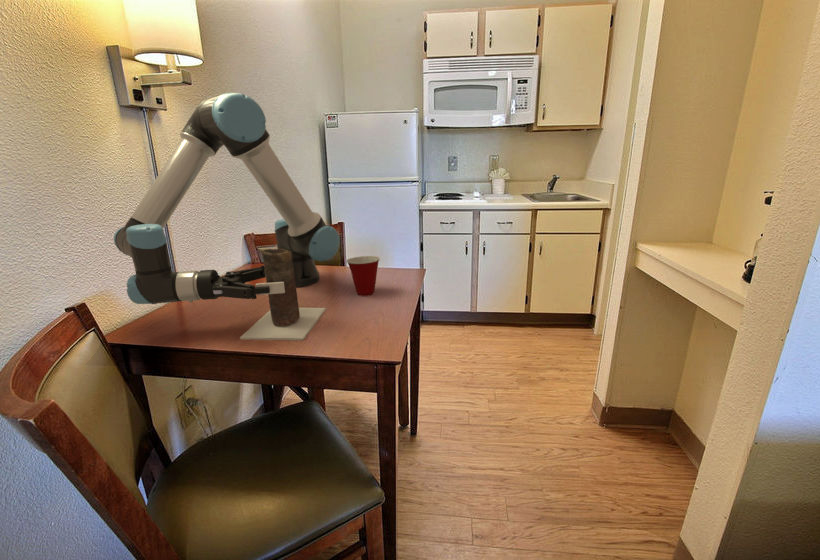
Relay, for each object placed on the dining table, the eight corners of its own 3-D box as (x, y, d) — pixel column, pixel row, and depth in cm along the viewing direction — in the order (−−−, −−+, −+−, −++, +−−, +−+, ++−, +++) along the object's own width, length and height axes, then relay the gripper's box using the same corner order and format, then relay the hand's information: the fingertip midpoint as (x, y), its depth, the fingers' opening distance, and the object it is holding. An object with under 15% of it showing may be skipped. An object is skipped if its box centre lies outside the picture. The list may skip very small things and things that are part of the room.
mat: (273, 309, 115) (273, 307, 115) (325, 309, 114) (325, 307, 114) (240, 339, 96) (240, 337, 96) (303, 340, 95) (302, 338, 95)
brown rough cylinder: (272, 317, 107) (262, 247, 101) (299, 314, 109) (291, 245, 103) (271, 328, 100) (261, 254, 94) (300, 324, 102) (292, 251, 96)
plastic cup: (371, 285, 135) (369, 252, 131) (387, 294, 126) (386, 258, 122) (343, 291, 129) (340, 257, 125) (357, 301, 120) (355, 264, 117)
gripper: (216, 284, 110) (293, 278, 114) (185, 318, 87) (283, 310, 91) (211, 258, 108) (290, 254, 112) (179, 286, 85) (279, 279, 89)
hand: (287, 279), depth 101 cm, fingers open, 13 cm apart
